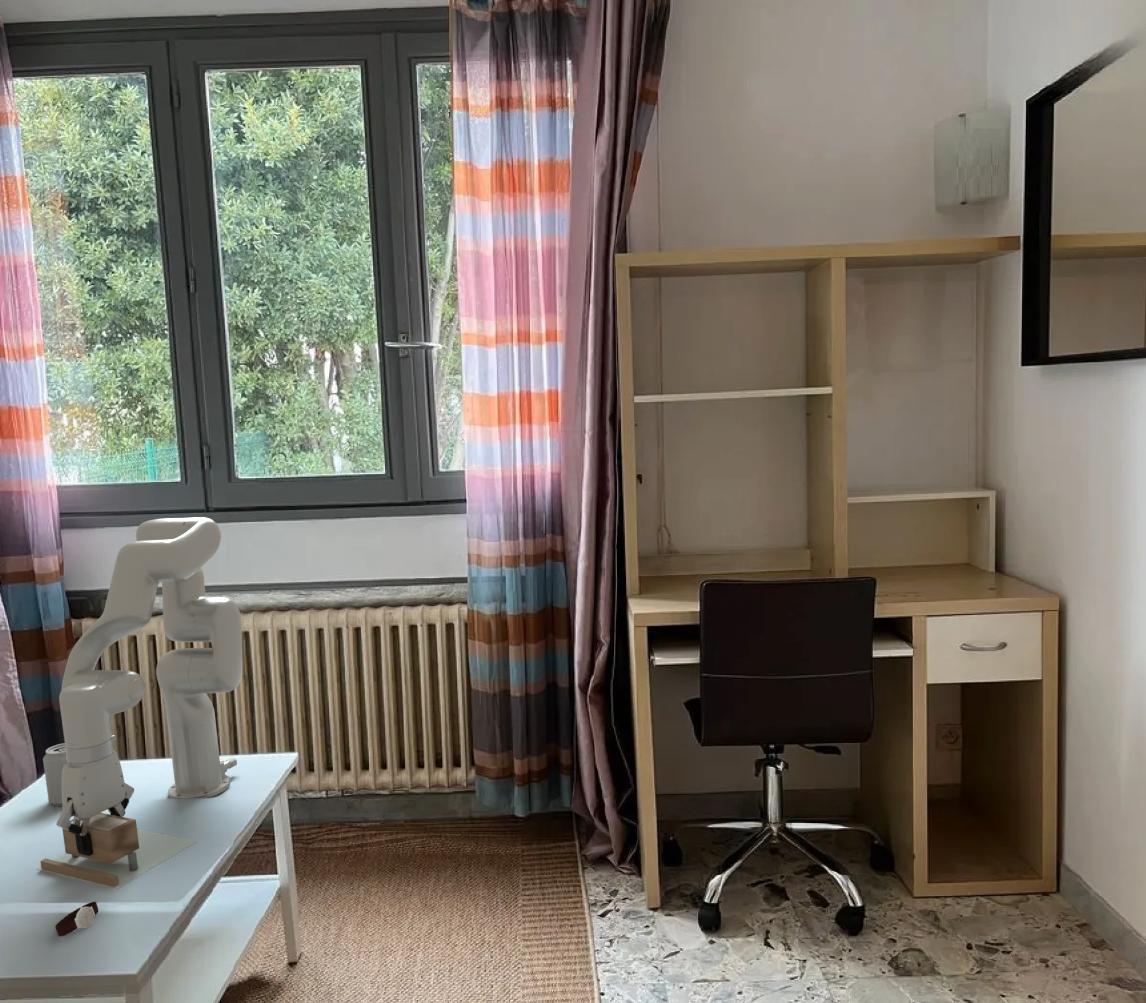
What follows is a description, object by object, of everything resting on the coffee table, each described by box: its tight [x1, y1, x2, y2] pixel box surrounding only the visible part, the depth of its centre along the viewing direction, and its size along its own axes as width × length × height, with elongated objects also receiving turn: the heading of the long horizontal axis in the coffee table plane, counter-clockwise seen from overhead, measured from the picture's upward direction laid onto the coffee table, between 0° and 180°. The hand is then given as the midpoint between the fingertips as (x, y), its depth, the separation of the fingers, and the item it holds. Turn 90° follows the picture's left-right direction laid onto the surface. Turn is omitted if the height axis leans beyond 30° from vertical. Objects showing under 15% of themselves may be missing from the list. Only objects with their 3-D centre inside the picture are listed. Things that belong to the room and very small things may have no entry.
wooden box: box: [61, 812, 139, 864], centre depth 175 cm, size 6×12×6 cm, turn 65°
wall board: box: [36, 828, 198, 890], centre depth 178 cm, size 18×21×4 cm
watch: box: [54, 901, 100, 937], centre depth 157 cm, size 8×5×4 cm, turn 165°
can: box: [42, 742, 67, 807], centre depth 207 cm, size 8×8×12 cm
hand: (101, 844), depth 175 cm, fingers closed on wooden box, 6 cm apart
